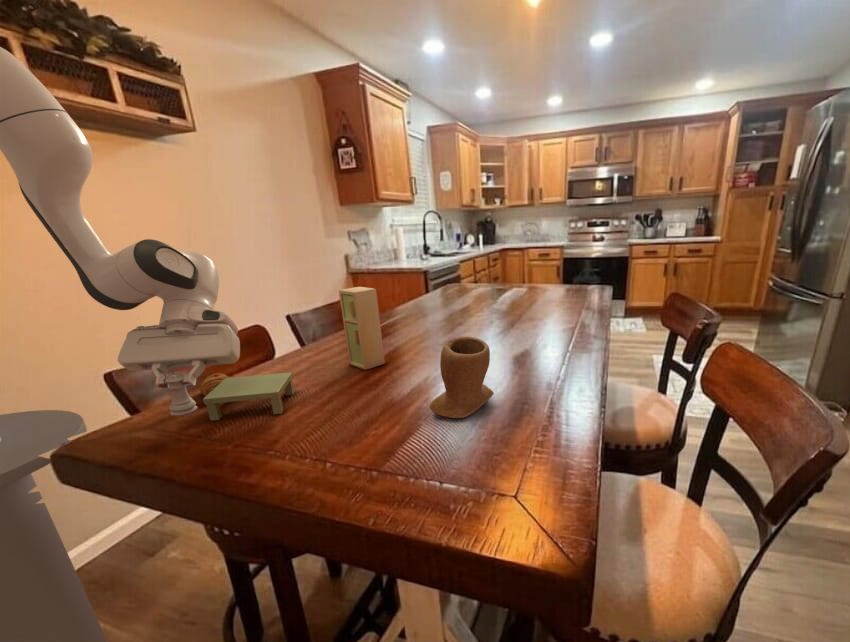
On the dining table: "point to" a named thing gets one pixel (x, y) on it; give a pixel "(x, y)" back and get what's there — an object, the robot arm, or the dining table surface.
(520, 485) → the dining table surface
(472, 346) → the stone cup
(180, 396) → the rook chess piece
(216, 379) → the pastry
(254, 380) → the green miniature table
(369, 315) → the toy refrigerator
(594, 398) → the dining table surface
